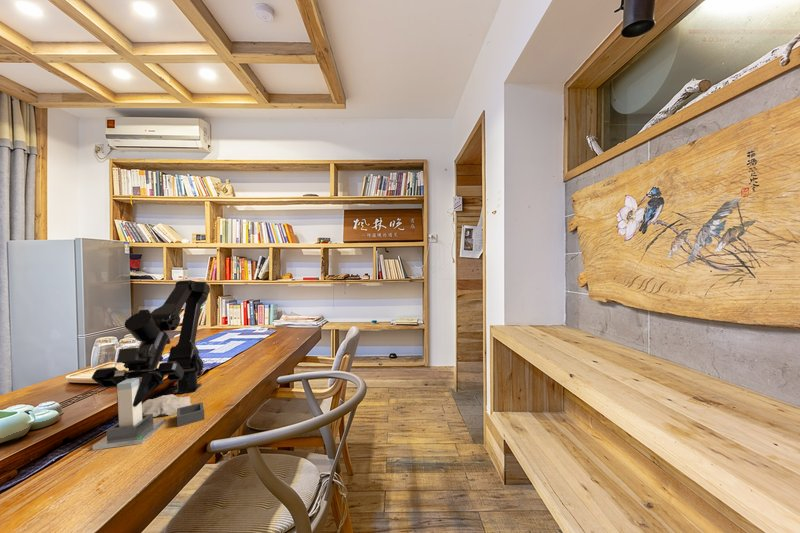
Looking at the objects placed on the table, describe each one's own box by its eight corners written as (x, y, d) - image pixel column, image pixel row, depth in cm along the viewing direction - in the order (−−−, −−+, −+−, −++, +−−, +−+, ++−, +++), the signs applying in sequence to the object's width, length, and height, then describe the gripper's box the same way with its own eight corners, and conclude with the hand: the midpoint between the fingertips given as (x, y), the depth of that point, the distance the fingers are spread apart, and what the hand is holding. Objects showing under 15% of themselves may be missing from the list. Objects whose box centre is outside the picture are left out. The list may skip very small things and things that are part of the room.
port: (122, 428, 82) (121, 415, 82) (165, 422, 83) (164, 409, 83) (92, 450, 72) (91, 435, 72) (142, 443, 74) (141, 428, 74)
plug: (129, 428, 79) (126, 379, 79) (142, 426, 80) (140, 377, 80) (119, 435, 76) (117, 384, 76) (133, 433, 76) (131, 382, 76)
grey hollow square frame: (177, 417, 86) (177, 408, 86) (202, 410, 90) (202, 402, 90) (177, 426, 81) (176, 417, 81) (204, 419, 84) (204, 410, 84)
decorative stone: (124, 422, 86) (180, 424, 87) (123, 409, 86) (179, 411, 86) (154, 400, 97) (203, 401, 97) (153, 388, 96) (202, 390, 97)
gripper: (95, 337, 80) (59, 398, 69) (176, 331, 83) (155, 387, 73) (118, 359, 87) (89, 416, 77) (191, 352, 91) (174, 406, 80)
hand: (126, 406), depth 76 cm, fingers closed on plug, 3 cm apart
